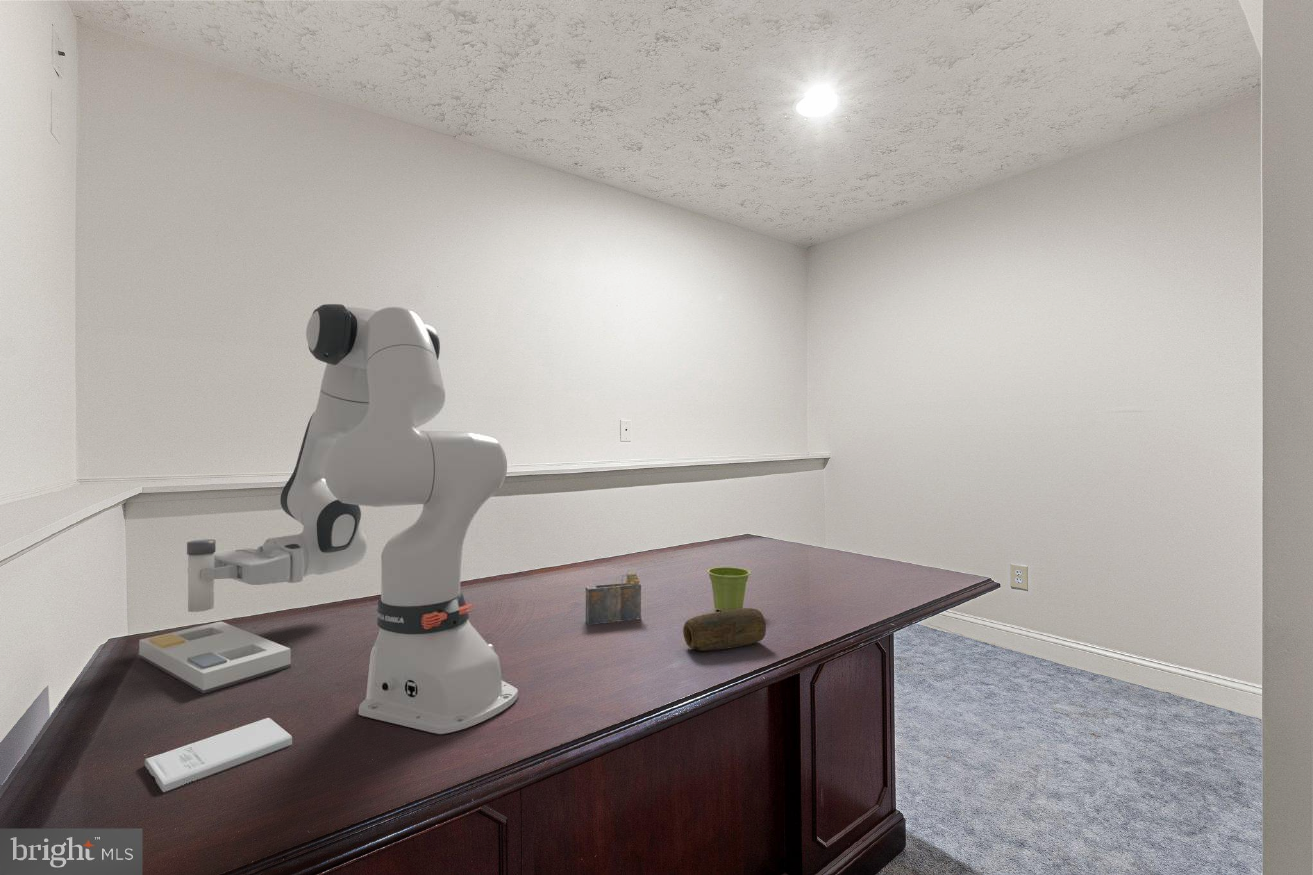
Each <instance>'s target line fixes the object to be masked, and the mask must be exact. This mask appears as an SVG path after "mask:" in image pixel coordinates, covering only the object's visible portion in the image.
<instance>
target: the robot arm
mask: <svg viewBox="0 0 1313 875" xmlns="http://www.w3.org/2000/svg"><path fill="white" fill-rule="evenodd" d="M305 336H306V341H307V344H308V345H307V346H308V350H309V352H310V353H311V355H312V356H313V357H314V358H315V359H316V360H318V361H320V362H322V363H325V364H326V365H325V369H324V371H323V375H322V379H321V384H320V390H319V395H318V400H317V404H316V407H315V411H314V412H313V413H312V415H311V416H310V419H309V420H308V423H307V425H306V428H305V432H304V436H303V439H302V441H301V442H302V443H301V446H300V449H299V452H298V456H297V460H296V462H295V463H296V464H295V467H294V469H293V471H292V474H291V475H290V477H289V479H288V480H287V481H286V483H285V485H284V486H283V489H282V490H281V494H280V499H279V500H280V502H279V503H280V506H281V508H282V510H283V512H284V513H285V514H286V515H288V516H290V517H291V518H293V519H294V520H296V521H298V523H300V524H301V525H302V526H303V529H302V532H301V533H299V534H292V535H285V536H284V535H283V536H278V537H270V538H267V539H266V540H265V541H264V542H263V544H262V545H260V546H258V547H257V548H256V549H255V548H252V547H243V548H242V547H240V548H238V547H237V548H229V549H228V548H227V549H220V550H216V552H214V568H207V569H202V570H200V576H199V577H200V579H203V580H211V579H214V580H220V579H222V580H223V579H224V580H225V579H227V580H228V579H232V580H234V581H237V582H241V583H244V584H247V585H249V586H250V585H251V586H260V585H269V584H271V585H273V584H281V583H282V584H283V583H290V584H294V583H295V584H296V583H300V582H303V580H304V578H305V577H308V576H311V575H316V576H317V575H326V574H327V575H328V574H331V573H335V572H339V571H343V570H345V569H348V568H351V567H354V566H355V565H357V564H359V563H360V562H361V561H362V560H363V559H364V557H365V556H366V553H367V548H368V539H367V535H365V533H364V532H363V531H362V527H361V517H362V512H361V507H360V506H363V507H373V508H374V507H375V508H382V507H397V506H414V505H423V506H422V511H421V513H420V515H419V517H417V518H418V519H417V520H416V521H415V522H414V523H413V524H412V525H410V526H408V527H407V528H405V529H403V530H401V531H399V532H397V533H396V534H395V535H394V536H392V537H391V538H390V539H389V540H388V541H387V542H386V544H385V546H384V547H383V549H382V552H381V556H380V557H381V558H380V559H381V561H380V562H381V564H380V565H381V566H380V567H381V568H380V570H381V571H380V575H381V576H380V578H381V579H380V581H381V582H380V584H381V585H380V598H379V599H378V601H377V608H376V616H377V618H376V620H377V623H376V624H377V626H378V628H379V631H378V632H379V633H378V634H377V637H376V640H375V642H374V644H373V646H372V649H371V651H370V655H369V665H368V666H369V667H368V675H367V686H366V697H365V699H364V700H363V701H362V702H360V704H359V706H358V715H359V716H361V717H366V718H370V719H374V720H378V721H382V722H387V723H390V724H391V723H392V724H395V725H399V726H403V727H406V728H407V727H408V728H413V729H416V730H420V731H424V732H428V733H432V734H437V735H444V734H449V733H454V732H457V731H461V730H464V729H468V728H470V727H472V726H475V725H477V724H480V723H482V722H484V721H486V720H488V719H491V718H493V717H495V716H496V715H498V714H500V713H501V712H504V710H507V709H508V708H510V707H511V705H513V704H514V703H515V702H516V701H517V699H518V698H519V690H518V688H517V687H515V686H513V685H512V684H510V683H508V682H506V681H504V680H503V679H502V669H501V662H500V658H499V656H498V654H497V653H496V652H495V651H496V650H495V647H494V645H493V644H491V643H487V642H486V641H485V639H484V638H483V637H482V635H481V634H480V633H479V631H477V630H476V628H475V627H474V626H473V625H472V624H471V622H470V621H469V617H470V616H469V613H470V612H473V609H469V608H471V607H472V606H473V605H474V604H473V603H469V604H466V600H465V596H464V593H463V591H461V576H462V575H461V572H462V560H463V559H462V558H463V551H464V550H463V548H464V543H465V538H466V535H467V532H468V529H469V527H470V526H471V523H472V521H473V520H474V517H475V516H476V514H477V513H478V512H479V510H480V509H481V507H482V506H483V505H484V504H485V503H486V502H487V501H488V500H489V499H490V498H491V497H493V496H494V495H495V494H496V493H497V492H498V491H499V490H500V489H501V487H502V486H503V484H504V482H505V481H506V480H505V479H506V476H507V471H508V459H507V456H506V453H505V451H504V449H503V447H502V446H501V443H500V442H498V440H497V439H495V438H494V437H491V436H488V435H483V434H479V433H474V432H469V431H443V430H441V431H440V430H439V431H431V430H428V431H427V430H425V431H424V430H420V429H418V428H419V427H421V426H422V425H425V424H426V423H429V422H430V421H431V420H432V419H434V418H435V417H436V416H437V415H438V414H440V413H441V411H442V409H443V407H444V404H445V401H446V391H445V388H444V383H443V379H442V374H441V369H440V364H439V362H438V360H439V356H440V352H441V343H440V342H441V341H440V338H439V335H438V333H437V331H436V330H435V328H434V327H432V326H431V325H430V324H427V323H424V322H423V320H422V319H421V318H420V317H419V315H418V314H416V313H415V312H414V311H412V310H410V309H407V308H404V307H401V306H400V307H399V306H388V307H385V308H381V309H379V310H376V309H370V308H363V307H353V306H345V305H344V304H339V303H327V304H326V303H325V304H322V305H320V306H318V307H316V308H315V309H314V310H313V312H312V314H311V316H310V318H309V320H308V322H307V325H306V331H305Z"/></svg>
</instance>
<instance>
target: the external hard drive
mask: <svg viewBox="0 0 1313 875" xmlns="http://www.w3.org/2000/svg"><path fill="white" fill-rule="evenodd" d="M292 736H293V735H291V734H290V733H289V732H287V731H286V730H285V729H284V728H282V726H280V725H279V724H278V723H276V722H275V721H274V720H273V719H272V718H270V717H266V718H263V719H260V720H258V721H254V722H252V723H248V724H245V725H242V726H239V727H237V728H233V729H231V730H228V731H227V730H226V731H225V732H222V733H219V734H215V735H212V736H210V737H207V738H204V739H201V740H198V741H196V742H192V743H189V744H186V745H183V746H181V747H178V748H174V749H171V750H168V751H166V752H163V753H160V754H157V755H154V756H150V757H148V758H145V759H144V767H146V769H147V771H148V770H149V771H148V772H149V774H150V775H151V776H152V777H154V779H155V783H156V784H157V785H158V787H159V789H160V790H161V791H162V793H165V792H168V791H171V790H174V789H176V788H179V787H182V786H185V785H187V784H190V783H192V782H191V781H193V782H195V781H198V780H200V779H204V778H206V777H208V776H212V775H214V774H217V773H220V772H222V771H225V770H228V769H231V768H232V767H236V766H238V765H241V764H243V763H247V762H248V761H252V760H254V759H257V758H260V757H262V756H265V755H268V754H271V753H273V752H275V751H276V752H277V751H278V750H281V749H284V748H287V747H290V746H292V745H293V737H292ZM197 779H198V780H197ZM189 782H190V783H189ZM186 783H187V784H186ZM184 784H185V785H184ZM181 785H182V786H181Z"/></svg>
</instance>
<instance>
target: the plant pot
mask: <svg viewBox="0 0 1313 875" xmlns="http://www.w3.org/2000/svg"><path fill="white" fill-rule="evenodd" d="M707 573H708V574H709V580H710V581H711V582H710V583H711V588H712V589H711V590H712V596H713V603H714V609H715V608H716V610H719V611H718V612H720V611H728V610H734V609H742V608H744V600H745V593H746V588H747V582H748V580H749V576H750V575H751V571H750V570H748V569H746V568H742V567H741V568H740V567H733V566H720V567H719V566H718V567H713V568H709V569H707ZM716 610H715V611H716Z"/></svg>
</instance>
